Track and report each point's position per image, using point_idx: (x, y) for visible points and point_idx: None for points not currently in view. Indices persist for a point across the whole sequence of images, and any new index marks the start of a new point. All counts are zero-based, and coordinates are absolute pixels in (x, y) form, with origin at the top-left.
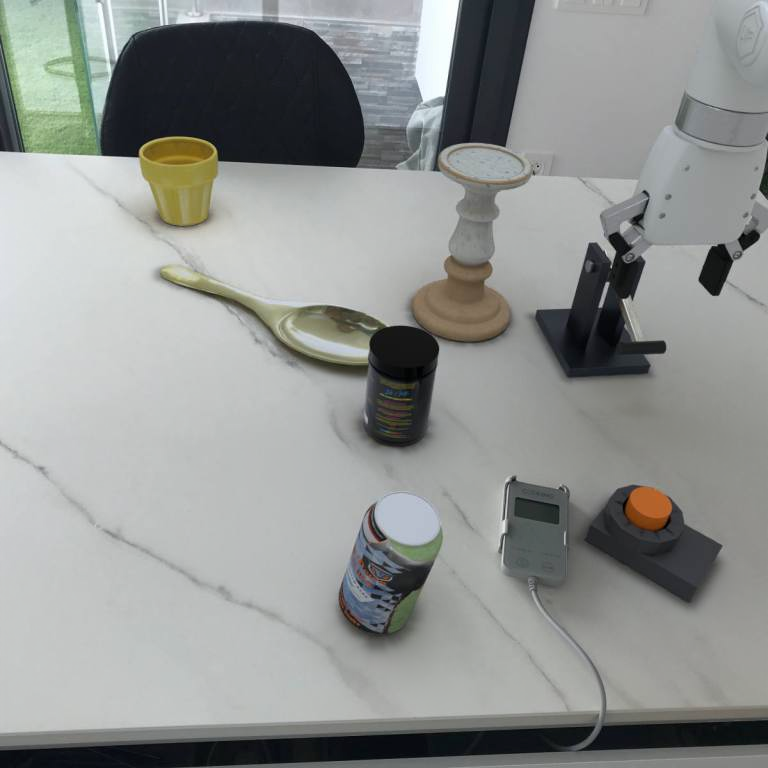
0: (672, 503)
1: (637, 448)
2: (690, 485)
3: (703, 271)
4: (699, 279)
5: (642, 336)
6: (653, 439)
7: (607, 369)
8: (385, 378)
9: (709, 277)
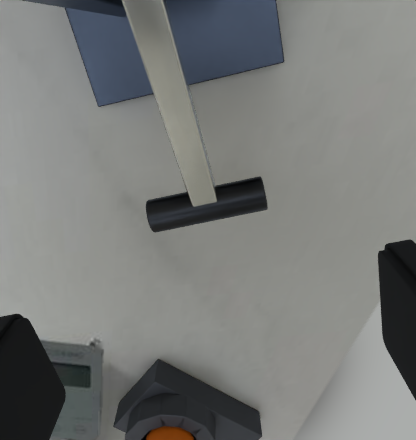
0: (206, 433)
1: (209, 268)
2: (268, 323)
3: (401, 290)
4: (382, 257)
5: (208, 192)
6: (239, 247)
7: None
8: None
9: (404, 334)
